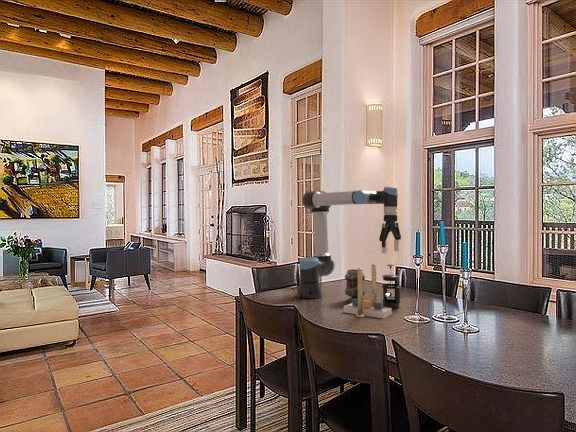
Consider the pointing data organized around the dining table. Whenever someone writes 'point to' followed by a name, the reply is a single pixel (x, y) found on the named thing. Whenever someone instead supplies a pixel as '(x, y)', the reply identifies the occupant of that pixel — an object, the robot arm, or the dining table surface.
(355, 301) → the paddle near base
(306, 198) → the robot arm
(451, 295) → the dining table surface
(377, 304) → the paddle far
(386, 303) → the black lantern
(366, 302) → the paddle mid
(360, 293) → the candlestick
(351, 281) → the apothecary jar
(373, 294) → the candlestick
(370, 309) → the panel
